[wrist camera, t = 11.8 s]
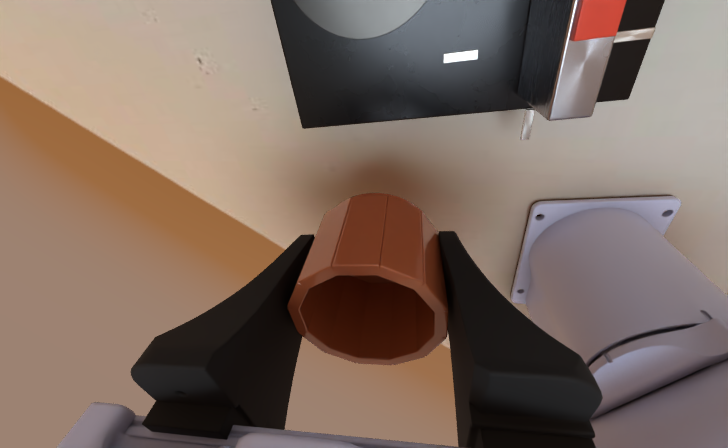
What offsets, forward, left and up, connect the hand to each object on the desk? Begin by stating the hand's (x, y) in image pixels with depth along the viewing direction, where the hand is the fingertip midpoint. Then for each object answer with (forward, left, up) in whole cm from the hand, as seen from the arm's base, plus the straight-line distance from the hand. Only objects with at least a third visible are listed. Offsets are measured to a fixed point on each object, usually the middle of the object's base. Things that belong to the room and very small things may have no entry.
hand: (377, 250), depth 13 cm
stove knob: (+7, -7, -5) cm, 11 cm away
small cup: (0, 0, -1) cm, 1 cm away
